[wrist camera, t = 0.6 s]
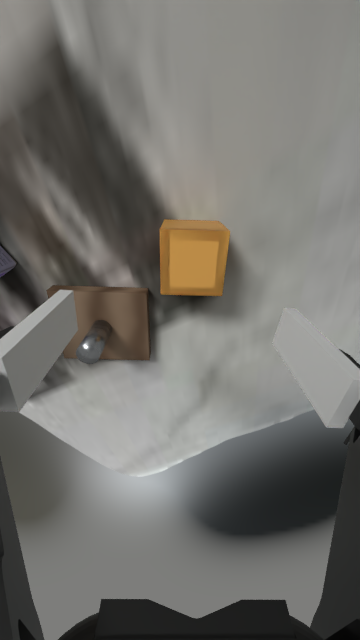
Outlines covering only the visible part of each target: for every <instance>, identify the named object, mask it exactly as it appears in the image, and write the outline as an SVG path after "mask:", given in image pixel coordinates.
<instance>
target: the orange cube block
mask: <svg viewBox="0 0 360 640" xmlns="http://www.w3.org/2000/svg"><path fill="white" fill-rule="evenodd" d="M229 237H230V231H229V230H228V229H227V228H226V227H225V226H224V225H223V224H222V223H220V222H219V221H198V220H166V219H165V220H164V222H163V224H162V226H161V228H160V280H161V294H164V295H201V296H222V293H223V285H224V277H225V269H226V261H227V253H228V245H229Z"/></svg>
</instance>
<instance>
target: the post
mask: <svg viewBox="0 0 360 640" xmlns="http://www.w3.org/2000/svg"><path fill="white" fill-rule="evenodd" d="M111 332H112V327H111V325H110V324H109V323H108V322H107V321H104V320H97V321H95V322H94V323H93V325H92V326H91V328H90V329H89V331H88V332H87V334H86V336H85V337H84V339H83V340H82V342H81V343H80V345H79V347H78V348H77V350H76V356H77V358H78V359H79V360H80V361H82V362H84V363H87V364H92V363H95V362H97V361H98V360H99V358H100V355H101V353H102V351H103V349H104V347H105V345H106V343H107V341H108V339H109V337H110V334H111Z"/></svg>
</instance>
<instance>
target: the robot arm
mask: <svg viewBox="0 0 360 640" xmlns="http://www.w3.org/2000/svg"><path fill="white" fill-rule="evenodd" d="M77 331H78V326H77V318H76V310H75V302H74V294H73V291H72V290H59V291H58V292H57V293H55V294H54V295H53V296H52V297H50V298H49V299H48V300H47V301H46V302H44V303H43V304H42V305H41V306H40V307H38V308H37V309H36V310H35V311H34V312H32V313H31V314H30V315H29V316H27V317H26V318H25V319H24V320H23V321H21V322H20V323H19V324H18V325H17V326H15V327H9V328H6V329H4V330H2V331H0V411H7V412H19V411H20V410H21V409H22V407H23V406H24V404H25V403H26V402H27V400H28V399H29V397H30V396H31V395H32V393H33V392H34V391H35V389H36V388H37V386H38V385H39V384H40V382H41V381H42V379H43V378H44V377H45V375H46V374H47V372H48V371H49V370H50V368H51V367H52V365H53V364H54V363H55V361H56V360H57V359H58V357H59V356H60V354H61V353H62V352H63V350H64V349H65V347H66V346H67V345H68V343H69V342H70V340H71V339H72V338H73V336H74V335H75V333H76V332H77ZM272 344H273V346H274V347H275V349H276V350H277V352H278V354H279V355H280V357H281V358H282V360H283V361H284V363H285V364H286V366H287V367H288V369H289V371H290V372H291V374H292V375H293V377H294V378H295V380H296V381H297V383H298V384H299V386H300V387H301V389H302V391H303V392H304V394H305V395H306V397H307V398H308V400H309V401H310V403H311V404H312V406H313V408H314V409H315V411H316V412H317V414H318V415H319V417H320V418H321V420H322V421H323V423H324V424H325V426H326V427H328V428H343V427H344V426H345V424H346V423H347V421H348V419H350V420H351V421H352V423H353V424H354V425H355V427H354V428H353V430H352V431H351V433H350V434H349V436H348V437H347V439H346V440H345V442H344V444H347V443H348V442H349V446H348V451H347V458H346V463H345V468H344V474H343V480H342V486H341V492H340V497H339V503H338V508H337V514H336V520H335V525H334V531H333V537H332V542H331V548H330V554H329V559H328V565H327V571H326V576H325V582H324V588H323V593H322V598H321V601H320V604H319V606H318V608H317V611H316V613H315V615H314V617H313V621H312V623H311V626H310V628H309V627H308V626H307V625H305V624H304V623H302V622H301V621H299V620H297V619H295V618H294V617H292V616H290V615H289V612H288V609H287V604H286V601H285V600H240V601H238V602H236V603H233V604H231V605H229V606H227V607H225V608H222V609H220V610H218V611H215V612H213V613H211V614H208V615H206V616H204V617H202V618H198V619H195V618H191V617H189V616H186V615H184V614H182V613H179V612H177V611H174V610H172V609H170V608H167V607H165V606H163V605H160V604H158V603H156V602H153V601H151V600H148V599H101V604H100V610H99V613H96V614H94V615H92V616H89V617H88V618H86V619H84V620H83V621H81V622H79V623H77V624H76V625H75V626H74V627H72V628H71V629H70V630H68V631H67V632H66V633H65V634H63V635H62V636H61V637H60V638H59V639H58V640H360V365H359V364H358V363H357V362H356V361H355V360H354V359H353V358H352V357H351V356H350V355H348V354H347V353H345V352H343V351H342V350H340V349H338V348H337V347H336V346H335V345H334V344H333V343H332V342H331V341H329V340H328V339H327V338H326V337H325V336H324V335H323V334H322V333H321V332H320V331H319V330H318V329H317V328H316V327H315V326H314V325H313V324H312V323H310V322H309V321H308V320H307V319H306V318H305V317H304V316H303V315H302V314H301V313H300V312H299V311H298V310H297V309H296V308H284V309H283V312H282V315H281V318H280V321H279V324H278V327H277V330H276V333H275V336H274V339H273V342H272ZM0 640H44V637H43V633H42V629H41V625H40V621H39V618H38V615H37V612H36V609H35V606H34V603H33V599H32V595H31V591H30V587H29V582H28V578H27V574H26V569H25V565H24V560H23V556H22V551H21V547H20V542H19V538H18V533H17V529H16V524H15V520H14V516H13V511H12V506H11V502H10V497H9V493H8V488H7V484H6V480H5V476H4V471H3V466H2V462H1V457H0Z"/></svg>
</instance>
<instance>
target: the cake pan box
mask: <svg viewBox="0 0 360 640" xmlns="http://www.w3.org/2000/svg"><path fill="white" fill-rule="evenodd" d="M16 264H17V262H16V261H15V260H14V259H13V258H12V257H11V256H10V255H9V254H8V253H7V252H6V251H5V250H4V249H3V248H2V247H1V246H0V277H2V276H3V275H5V274H6V273H7V272H9V271H10V270H11V269H13V268H14V267H15V266H16Z"/></svg>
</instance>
